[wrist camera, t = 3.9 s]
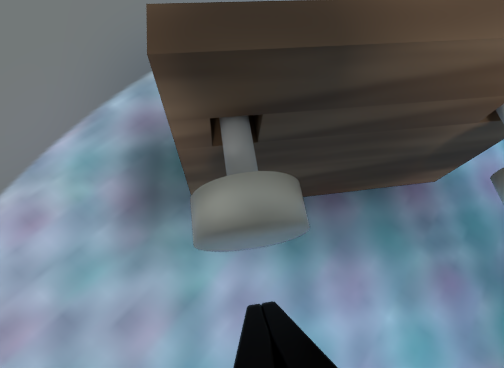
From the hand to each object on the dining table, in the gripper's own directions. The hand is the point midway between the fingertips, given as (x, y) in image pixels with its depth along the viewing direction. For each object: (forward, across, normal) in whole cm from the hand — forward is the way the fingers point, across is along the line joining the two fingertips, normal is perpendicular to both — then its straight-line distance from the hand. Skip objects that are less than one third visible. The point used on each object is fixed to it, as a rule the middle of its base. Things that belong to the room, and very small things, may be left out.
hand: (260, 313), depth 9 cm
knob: (+6, 0, -3) cm, 7 cm away
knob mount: (+13, -7, 0) cm, 15 cm away
